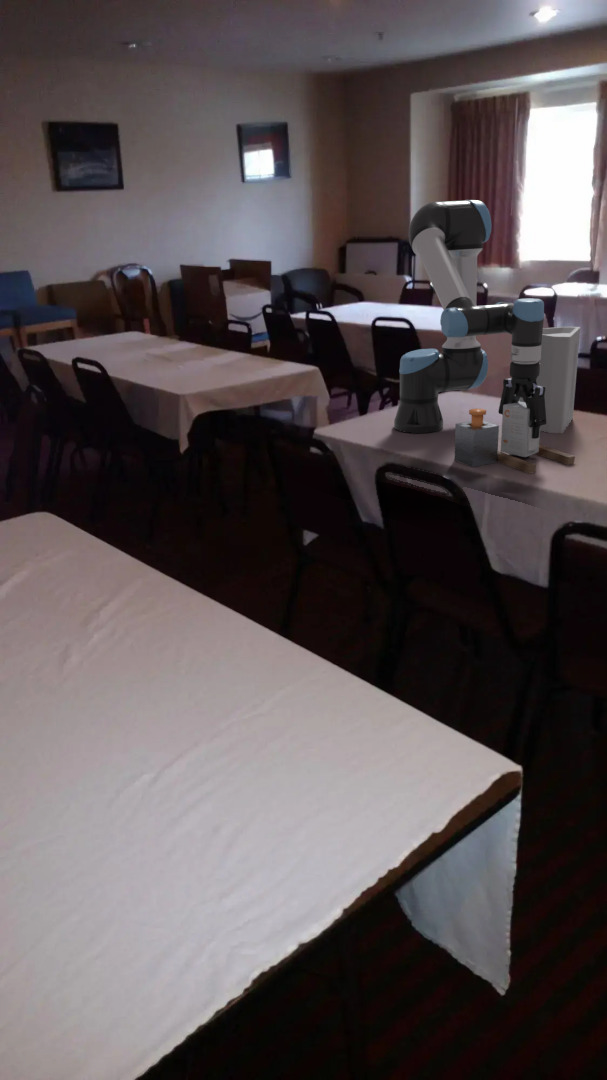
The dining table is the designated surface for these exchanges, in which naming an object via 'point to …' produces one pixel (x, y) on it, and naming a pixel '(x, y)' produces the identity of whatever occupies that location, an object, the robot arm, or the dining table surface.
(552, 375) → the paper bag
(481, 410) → the orange piece
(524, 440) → the small box
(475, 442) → the grey block with hole
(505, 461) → the track
